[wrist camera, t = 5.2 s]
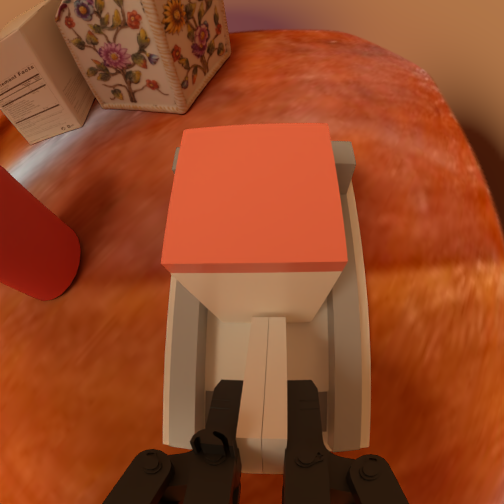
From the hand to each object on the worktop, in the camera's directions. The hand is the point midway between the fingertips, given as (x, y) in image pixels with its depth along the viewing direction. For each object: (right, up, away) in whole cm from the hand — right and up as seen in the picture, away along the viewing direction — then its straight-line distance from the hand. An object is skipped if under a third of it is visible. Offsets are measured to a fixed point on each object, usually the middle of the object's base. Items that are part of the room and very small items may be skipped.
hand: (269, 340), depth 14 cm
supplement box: (-24, +21, +15) cm, 36 cm away
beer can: (-17, +3, +7) cm, 19 cm away
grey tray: (0, +2, +5) cm, 5 cm away
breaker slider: (0, +3, +4) cm, 5 cm away
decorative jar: (-10, +23, +15) cm, 30 cm away
